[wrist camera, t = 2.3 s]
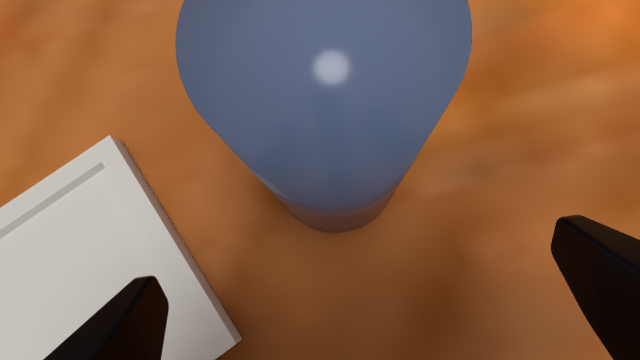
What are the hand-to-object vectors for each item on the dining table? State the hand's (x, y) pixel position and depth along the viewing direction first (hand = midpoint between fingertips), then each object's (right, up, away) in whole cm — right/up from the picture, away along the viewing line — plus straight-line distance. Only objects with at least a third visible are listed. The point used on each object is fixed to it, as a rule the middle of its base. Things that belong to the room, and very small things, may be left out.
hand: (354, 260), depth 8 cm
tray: (-14, -5, +12) cm, 19 cm away
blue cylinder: (0, +2, +12) cm, 13 cm away
